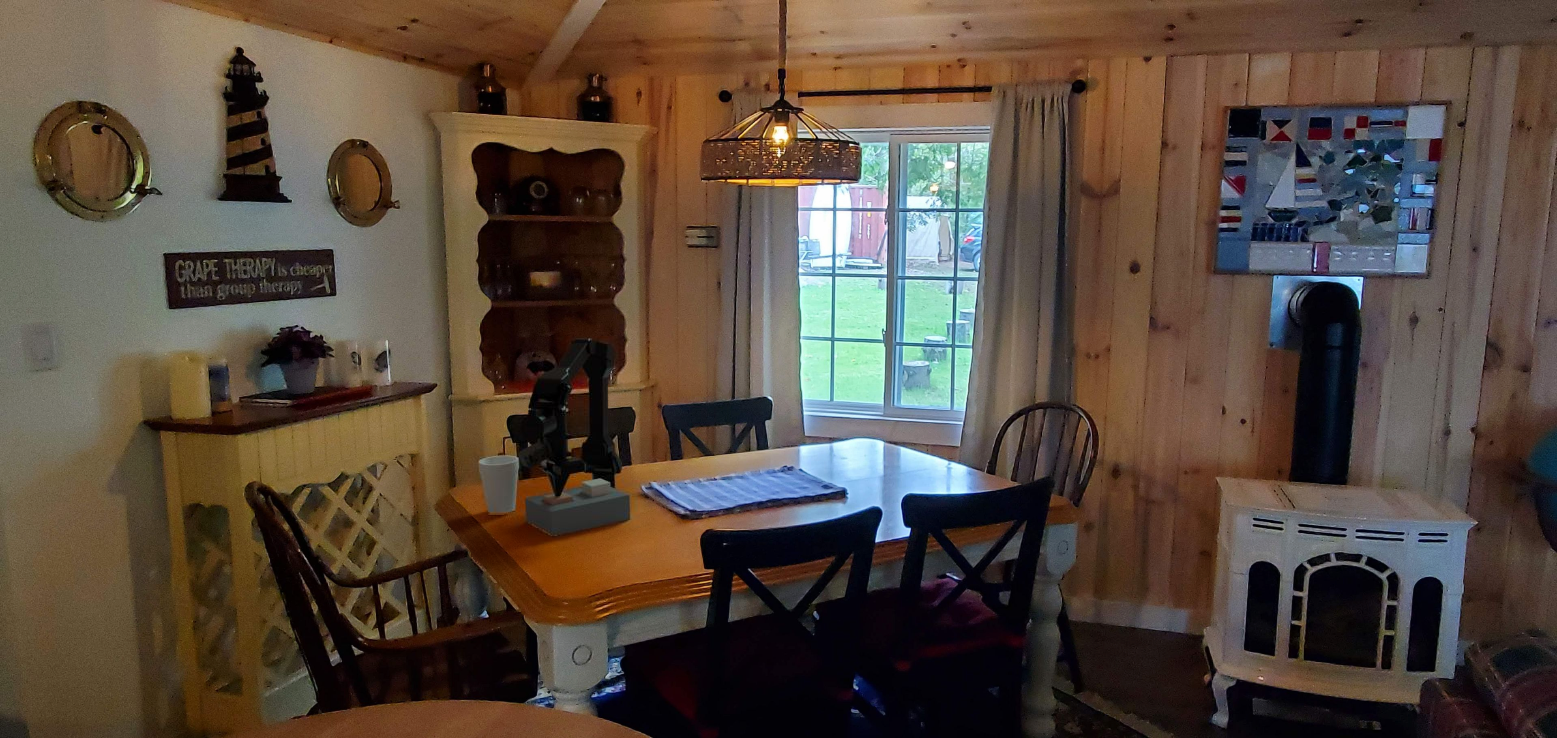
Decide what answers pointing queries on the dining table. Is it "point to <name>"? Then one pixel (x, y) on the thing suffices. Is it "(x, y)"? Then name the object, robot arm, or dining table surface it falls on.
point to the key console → (577, 511)
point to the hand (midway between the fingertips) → (557, 496)
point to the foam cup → (499, 482)
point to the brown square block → (557, 499)
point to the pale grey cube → (596, 487)
